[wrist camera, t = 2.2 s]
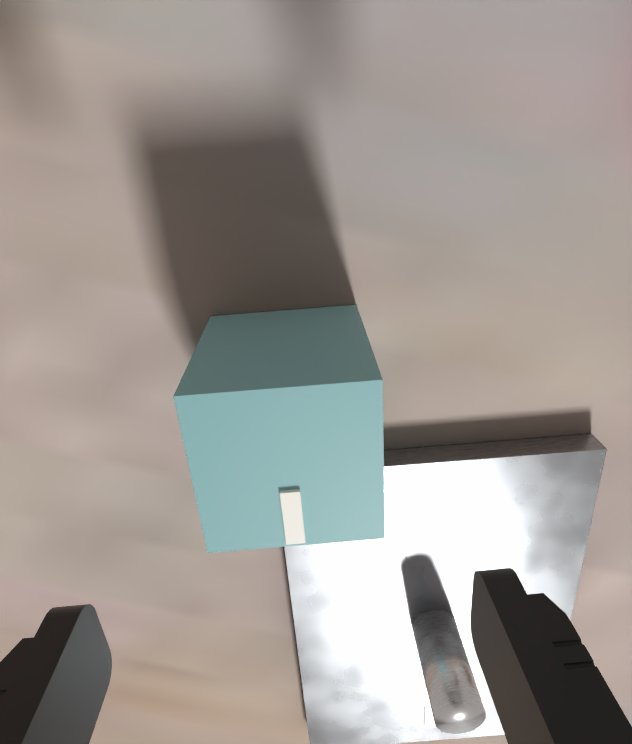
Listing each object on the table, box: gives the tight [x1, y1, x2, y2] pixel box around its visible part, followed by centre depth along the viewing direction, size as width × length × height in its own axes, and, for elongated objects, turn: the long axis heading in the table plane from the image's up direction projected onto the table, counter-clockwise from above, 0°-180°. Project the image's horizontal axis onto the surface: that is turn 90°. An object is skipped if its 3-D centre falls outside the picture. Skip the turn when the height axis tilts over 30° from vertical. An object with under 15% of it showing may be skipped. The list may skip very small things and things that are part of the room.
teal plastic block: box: [173, 305, 385, 553], centre depth 18 cm, size 6×6×7 cm
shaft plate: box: [284, 434, 607, 744], centre depth 24 cm, size 20×14×6 cm
